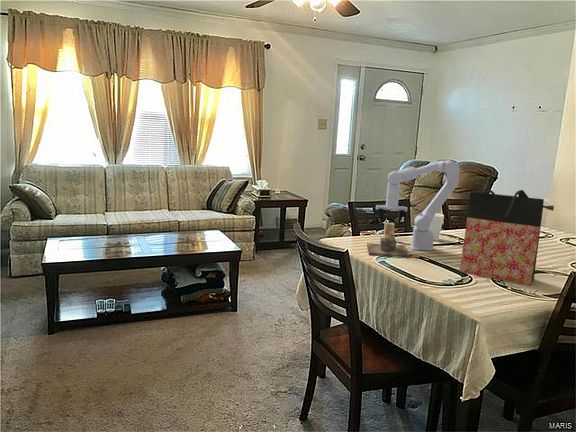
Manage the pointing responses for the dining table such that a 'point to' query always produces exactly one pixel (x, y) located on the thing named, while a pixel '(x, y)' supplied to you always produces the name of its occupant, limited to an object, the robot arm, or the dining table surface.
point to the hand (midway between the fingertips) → (389, 225)
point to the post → (388, 231)
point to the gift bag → (502, 236)
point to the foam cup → (436, 225)
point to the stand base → (387, 249)
